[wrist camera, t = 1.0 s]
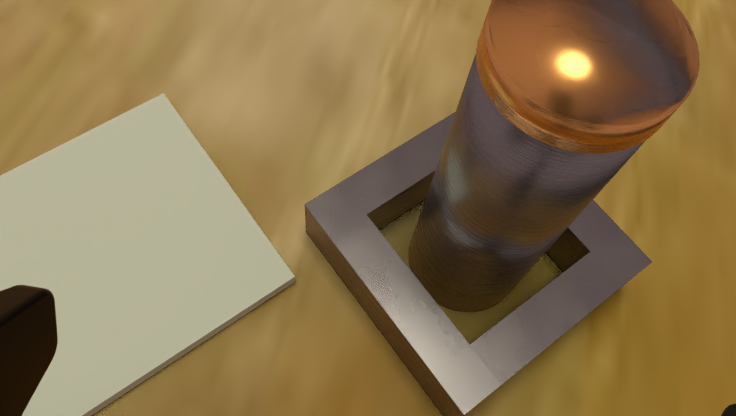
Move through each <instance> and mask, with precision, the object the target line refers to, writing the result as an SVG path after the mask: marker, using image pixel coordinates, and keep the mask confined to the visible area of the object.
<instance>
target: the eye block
mask: <svg viewBox="0 0 736 416" xmlns="http://www.w3.org/2000/svg"><path fill="white" fill-rule="evenodd" d="M455 113H456V112H454V113H453V114H451V115H450V116H448V117H446V118H445V119H443V120H441V121H440V122H438V123H437V124H435V125H433V126H432V127H430V128H428V129H427V130H425V131H423V132H422V133H420V134H419V135H417V136H415V137H414V138H412V139H410V140H409V141H407V142H406V143H404V144H402V145H401V146H399V147H397V148H396V149H394V150H393V151H391V152H389V153H388V154H386V155H384V156H383V157H381V158H379V159H378V160H376V161H375V162H373V163H371V164H370V165H368V166H366V167H365V168H363V169H362V170H360V171H358V172H357V173H355V174H353V175H352V176H350V177H349V178H347V179H345V180H344V181H342V182H340V183H339V184H337V185H335V186H334V187H332V188H331V189H329V190H327V191H326V192H324V193H322V194H321V195H319V196H318V197H316V198H314V199H313V200H311V201H309V202H308V203H306V204H305V220H306V232H307V234H308V235H309V236H310V238H311V239H312V240H313V242H314V243H315V244H316V246H317V247H318V248H319V250H320V251H321V252H322V254H323V255H324V256H325V258H326V259H327V260H328V262H329V263H330V264H331V266H332V267H333V268H334V270H335V271H336V273H337V274H338V275H339V277H340V278H341V279H342V281H343V282H344V283H345V285H346V286H347V287H348V289H349V290H350V291H351V293H352V294H353V295H354V297H355V298H356V299H357V301H358V302H359V303H360V305H361V306H362V307H363V309H364V310H365V311H366V313H367V314H368V315H369V317H370V318H371V320H372V321H373V322H374V324H375V325H376V326H377V328H378V329H379V330H380V332H381V333H382V334H383V336H384V337H385V338H386V340H387V341H388V342H389V344H390V345H391V346H392V348H393V349H394V350H395V352H396V353H397V354H398V356H399V357H400V358H401V360H402V361H403V362H404V364H405V365H406V366H407V368H408V369H409V371H410V372H411V373H412V375H413V376H414V377H415V379H416V380H417V381H418V383H419V384H420V385H421V387H422V388H423V389H424V391H425V392H426V393H427V395H428V396H429V397H430V399H431V400H432V401H433V403H434V404H435V405H436V407H437V408H438V409H439V411H440V412H441V413H442V415H443V416H464V415H465V414H466V413H467V412H469V411H470V410H471V409H472V408H474V407H475V406H476V405H477V404H478V403H480V402H481V401H482V400H483V399H485V398H486V397H487V396H488V395H490V394H491V393H492V392H493V391H494V390H496V389H497V388H498V387H499V386H501V385H502V384H503V383H504V382H505V381H507V380H508V379H509V378H510V377H512V376H513V375H514V374H515V373H516V372H518V371H519V370H520V369H521V368H523V367H524V366H525V365H526V364H528V363H529V362H530V361H531V360H532V359H534V358H535V357H536V356H537V355H539V354H540V353H541V352H542V351H543V350H545V349H546V348H547V347H548V346H550V345H551V344H552V343H553V342H555V341H556V340H557V339H558V338H559V337H561V336H562V335H563V334H564V333H566V332H567V331H568V330H569V329H570V328H572V327H573V326H574V325H575V324H577V323H578V322H579V321H580V320H582V319H583V318H584V317H585V316H586V315H588V314H589V313H590V312H591V311H593V310H594V309H595V308H596V307H597V306H599V305H600V304H601V303H602V302H604V301H605V300H606V299H607V298H609V297H610V296H611V295H612V294H613V293H615V292H616V291H617V290H618V289H620V288H621V287H622V286H623V285H624V284H626V283H627V282H628V281H629V280H631V279H632V278H633V277H634V276H636V275H637V274H638V273H639V272H640V271H642V270H643V269H644V268H645V267H647V266H648V265H649V264H650V263H651V262H652V261H651V260H650V259H649V258H648V257H647V256H646V255H645V254H644V253H643V252H642V251H641V249H640V248H639V247H638V246H637V245H636V244H635V243H634V242H633V241H632V240H631V239H630V238H629V237H628V236H627V235H626V234H625V233H624V232H623V231H622V230H621V229H620V227H619V226H618V225H617V224H616V223H615V222H614V221H613V220H612V219H611V218H610V217H609V216H608V215H607V214H606V213H605V212H604V211H603V210H602V209H601V208H600V206H599V205H598V204H597V203H596V202H595V201H594V200H592V201H591V202H590V203H589V204H588V205H587V207H586V208H585V209H584V210H583V211H582V212H581V213H580V214H579V216H578V217H577V218H576V219H575V220H574V221H573V222H572V223H571V224H570V226H569V227H568V228H567V229H566V230H565V231H564V232H563V233H562V235H561V236H560V237H559V238H558V239H557V240H556V241H555V242H554V243H553V245H552V246H551V247H550V248H549V249H548V250H547V251H546V253H547V254H548V255H549V256H550V257H551V259H552V260H553V261H554V262H555V263H556V264H557V265H558V266H559V268H560V269H561V270H562V271H563V273H562V274H561V275H559V276H558V277H557V278H556V279H554V280H553V281H552V282H550V283H549V284H548V285H547V286H545V287H544V288H543V289H541V290H540V291H539V292H537V293H536V294H535V295H534V296H532V297H531V298H530V299H528V300H527V301H526V302H525V303H523V304H522V305H521V306H519V307H518V308H517V309H515V310H514V311H513V312H512V313H510V314H509V315H508V316H506V317H505V318H504V319H502V320H501V321H500V322H499V323H497V324H496V325H495V326H493V327H492V328H491V329H490V330H488V331H487V332H486V333H484V334H483V335H482V336H480V337H479V338H478V339H477V340H475V341H474V342H473V343H471V344H469V343H468V342H467V341H466V339H465V338H464V337H463V336H462V334H461V333H460V332H459V331H458V329H457V328H456V327H455V326H454V324H453V323H452V322H451V321H450V319H449V318H448V317H447V315H446V314H445V313H444V312H443V310H442V309H441V308H440V307H439V305H438V304H437V303H436V302H435V300H434V299H433V298H432V297H431V295H430V294H429V293H428V292H427V290H426V289H425V288H424V287H423V285H422V284H421V283H420V281H419V280H418V279H417V278H416V276H415V275H414V274H413V273H412V271H411V270H410V269H409V268H408V266H407V265H406V264H405V263H404V261H403V260H402V259H401V258H400V256H399V255H398V254H397V252H396V251H395V250H394V249H393V247H392V246H391V245H390V244H389V242H388V241H387V240H386V239H385V237H384V236H383V235H382V234H381V232H380V231H379V230H380V229H381V228H383V227H384V226H386V225H387V224H389V223H390V222H392V221H393V220H395V219H396V218H398V217H399V216H401V215H402V214H404V213H406V212H407V211H409V210H410V209H412V208H413V207H415V206H416V205H418V204H419V203H421V202H422V201H424V200H425V199H426V197H427V194H428V191H429V188H430V185H431V182H432V179H433V176H434V173H435V170H436V168H437V165H438V162H439V159H440V156H441V153H442V150H443V147H444V144H445V142H446V139H447V136H448V133H449V130H450V127H451V124H452V121H453V118H454V116H455Z"/></svg>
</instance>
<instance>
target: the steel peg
mask: <svg viewBox="0 0 736 416" xmlns="http://www.w3.org/2000/svg"><path fill="white" fill-rule="evenodd" d="M698 71H699V51H698V45H697V42H696V39H695V36H694V33H693V31H692V29H691V27H690V25H689V23H688V21H687V20H686V18H685V17H684V15H683V14H682V12H681V11H680V10H679V8H678V7H677V6H676V5H675V4H674V3H673V1H671V0H492V2H491V4H490V7H489V10H488V13H487V16H486V19H485V22H484V25H483V28H482V30H481V33H480V36H479V39H478V44H477V49H476V55H475V58H474V61H473V63H472V66H471V69H470V72H469V75H468V78H467V81H466V84H465V87H464V89H463V92H462V95H461V98H460V101H459V104H458V107H457V110H456V113H455V116H454V118H453V121H452V124H451V127H450V130H449V133H448V136H447V139H446V142H445V144H444V147H443V150H442V153H441V156H440V159H439V162H438V165H437V168H436V170H435V173H434V176H433V179H432V182H431V185H430V188H429V191H428V194H427V197H426V199H425V202H424V205H423V208H422V211H421V214H420V217H419V220H418V223H417V225H416V228H415V231H414V234H413V237H412V240H411V243H410V248H409V263H410V267H411V271H412V273H413V274H414V275H415V276H416V278H417V279H418V280H419V281H420V283H421V284H422V285H423V287H424V288H425V289H426V290H427V292H428V293H429V294H430V295H431V297H432V298H433V299H434V300H435V302H437V303H438V304H440V305H442V306H444V307H447V308H449V309H452V310H457V311H463V312H475V311H481V310H484V309H488V308H490V307H492V306H494V305H496V304H497V303H499V302H500V301H502V300H503V299H504V298H505V297H506V296H507V295H508V294H509V293H510V291H511V290H512V289H513V288H514V287H515V286H516V285H517V284H518V283H519V281H520V280H521V279H522V278H523V277H524V276H525V275H526V274H527V272H528V271H529V270H530V269H531V268H532V267H533V266H534V265H535V264H536V262H537V261H538V260H539V259H540V258H541V257H542V256H543V255H544V254H545V252H546V251H547V250H548V249H549V248H550V247H551V246H552V245H553V243H554V242H555V241H556V240H557V239H558V238H559V237H560V236H561V235H562V233H563V232H564V231H565V230H566V229H567V228H568V227H569V226H570V224H571V223H572V222H573V221H574V220H575V219H576V218H577V217H578V216H579V214H580V213H581V212H582V211H583V210H584V209H585V208H586V207H587V205H588V204H589V203H590V202H591V201H592V200H593V199H594V198H595V197H596V195H597V194H598V193H599V192H600V191H601V190H602V189H603V188H604V186H605V185H606V184H607V183H608V182H609V181H610V180H611V179H612V178H613V176H614V175H615V174H616V173H617V172H618V171H619V170H620V169H621V167H622V166H623V165H624V164H625V163H626V162H627V161H628V160H629V159H630V157H631V156H632V155H633V154H634V153H635V152H636V151H637V150H638V149H639V147H640V146H641V145H642V144H643V143H644V142H645V141H646V140H647V139H648V138H650V137H651V136H652V135H653V134H654V133H656V132H657V131H658V130H659V129H660V128H661V126H662V125H663V124H664V123H665V122H666V121H667V120H668V119H669V118H670V117H671V115H672V114H673V113H674V112H675V111H676V110H677V109H678V108H679V107H680V105H681V104H682V103H683V102H684V101H685V100H686V98H687V97H688V96H689V94H690V93H691V91H692V89H693V87H694V85H695V83H696V80H697V77H698Z"/></svg>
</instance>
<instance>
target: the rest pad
mask: <svg viewBox="0 0 736 416" xmlns="http://www.w3.org/2000/svg"><path fill="white" fill-rule="evenodd" d="M294 282H295V276H294V275H293V273H292V272H291V270H290V269H289V268H288V266H287V265H286V263H285V262H284V261H283V259H282V258H281V257H280V255H279V254H278V252H277V251H276V250H275V248H274V247H273V245H272V244H271V243H270V241H269V240H268V238H267V237H266V236H265V234H264V233H263V231H262V230H261V229H260V227H259V226H258V224H257V223H256V222H255V220H254V219H253V217H252V216H251V215H250V213H249V212H248V210H247V209H246V208H245V206H244V205H243V203H242V202H241V201H240V199H239V198H238V196H237V195H236V194H235V192H234V191H233V190H232V188H231V187H230V185H229V184H228V183H227V181H226V180H225V178H224V177H223V176H222V174H221V173H220V171H219V170H218V169H217V167H216V166H215V164H214V163H213V162H212V160H211V159H210V157H209V156H208V155H207V153H206V152H205V150H204V149H203V148H202V146H201V145H200V143H199V142H198V141H197V139H196V138H195V136H194V135H193V134H192V132H191V131H190V129H189V128H188V127H187V125H186V124H185V123H184V121H183V120H182V118H181V117H180V116H179V114H178V113H177V111H176V110H175V109H174V107H173V106H172V104H171V103H170V102H169V100H168V99H167V97H166V96H165V95H164V93H163V94H161V95H159V96H157V97H155V98H153V99H151V100H149V101H147V102H145V103H143V104H141V105H139V106H137V107H135V108H133V109H131V110H129V111H127V112H125V113H123V114H121V115H119V116H117V117H115V118H113V119H111V120H109V121H107V122H106V123H104V124H102V125H100V126H98V127H96V128H94V129H92V130H90V131H88V132H86V133H84V134H82V135H80V136H78V137H76V138H74V139H72V140H70V141H68V142H66V143H64V144H62V145H60V146H58V147H56V148H54V149H52V150H50V151H48V152H46V153H44V154H42V155H40V156H38V157H36V158H34V159H32V160H30V161H28V162H26V163H24V164H22V165H20V166H18V167H16V168H15V169H13V170H11V171H9V172H7V173H5V174H3V175H1V176H0V291H2V290H4V289H7V288H10V287H13V286H16V285H28V286H34V287H40V288H45V289H48V290H50V291H51V292H52V293H53V296H54V299H55V309H56V323H57V336H58V343H57V349H56V352H55V355H54V358H53V360H52V361H51V363H50V365H49V367H48V369H47V371H46V372H45V374H44V376H43V378H42V380H41V381H40V383H39V385H38V387H37V389H36V391H35V392H34V394H33V396H32V398H31V400H30V401H29V403H28V405H27V407H26V409H25V410H24V412H23V414H22V416H92V415H93V414H95V413H96V412H98V411H99V410H101V409H102V408H104V407H105V406H107V405H108V404H110V403H111V402H113V401H115V400H116V399H118V398H119V397H121V396H122V395H124V394H125V393H127V392H128V391H130V390H131V389H133V388H134V387H136V386H137V385H139V384H140V383H142V382H143V381H145V380H147V379H148V378H150V377H151V376H153V375H154V374H156V373H157V372H159V371H160V370H162V369H163V368H165V367H166V366H168V365H169V364H171V363H172V362H174V361H176V360H177V359H179V358H180V357H182V356H183V355H185V354H186V353H188V352H189V351H191V350H192V349H194V348H195V347H197V346H198V345H200V344H201V343H203V342H204V341H206V340H208V339H209V338H211V337H212V336H214V335H215V334H217V333H218V332H220V331H221V330H223V329H224V328H226V327H227V326H229V325H230V324H232V323H233V322H235V321H237V320H238V319H240V318H241V317H243V316H244V315H246V314H247V313H249V312H250V311H252V310H253V309H255V308H256V307H258V306H259V305H261V304H262V303H264V302H265V301H267V300H269V299H270V298H272V297H273V296H275V295H276V294H278V293H279V292H281V291H282V290H284V289H285V288H287V287H288V286H290V285H291V284H293V283H294Z"/></svg>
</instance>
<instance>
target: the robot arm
mask: <svg viewBox="0 0 736 416" xmlns="http://www.w3.org/2000/svg"><path fill="white" fill-rule="evenodd" d="M57 343H58V336H57V323H56V309H55V299H54V296H53V293H52V292H51V291H50V290H48V289H45V288H40V287H34V286H28V285H16V286H13V287H10V288H7V289H4V290H2V291H0V416H22V414H23V412H24V410H25V409H26V407H27V405H28V403H29V401H30V400H31V398H32V396H33V394H34V392H35V391H36V389H37V387H38V385H39V383H40V381H41V380H42V378H43V376H44V374H45V372H46V371H47V369H48V367H49V365H50V363H51V361H52V360H53V358H54V355H55V352H56V349H57ZM721 416H736V404H732V405H729V406H728V407H727V408H726V409H725V410H724V411H723V413H722V415H721Z"/></svg>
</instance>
